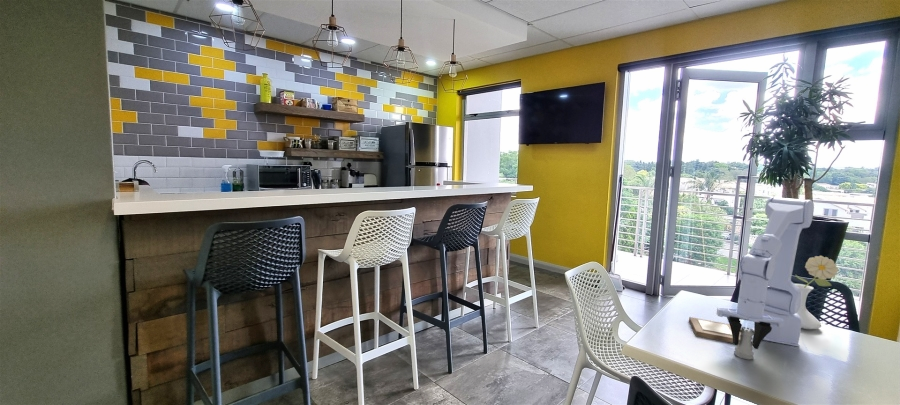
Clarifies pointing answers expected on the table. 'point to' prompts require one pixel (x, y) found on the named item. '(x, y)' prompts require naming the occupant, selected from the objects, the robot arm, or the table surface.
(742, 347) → the rook chess piece
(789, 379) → the table surface
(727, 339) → the base board
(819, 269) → the flower in vase
